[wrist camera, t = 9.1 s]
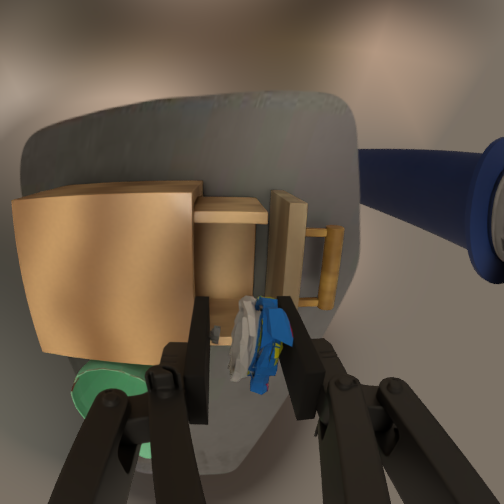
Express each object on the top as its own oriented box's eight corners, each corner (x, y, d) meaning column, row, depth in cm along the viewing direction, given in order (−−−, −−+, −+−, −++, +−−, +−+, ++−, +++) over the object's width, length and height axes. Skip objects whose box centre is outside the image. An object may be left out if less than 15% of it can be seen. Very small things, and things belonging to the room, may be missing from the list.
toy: (262, 354, 18) (271, 413, 13) (205, 346, 17) (198, 405, 12) (282, 280, 16) (301, 329, 12) (218, 269, 16) (213, 316, 11)
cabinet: (203, 180, 26) (192, 192, 17) (203, 308, 30) (197, 367, 21) (68, 185, 25) (11, 200, 16) (81, 302, 29) (42, 352, 20)
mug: (92, 311, 29) (53, 365, 20) (177, 306, 30) (161, 368, 20) (127, 406, 34) (111, 464, 24) (199, 406, 34) (197, 469, 25)
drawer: (328, 193, 27) (365, 207, 20) (315, 305, 30) (341, 349, 23) (143, 188, 25) (113, 201, 18) (150, 305, 29) (131, 350, 21)
